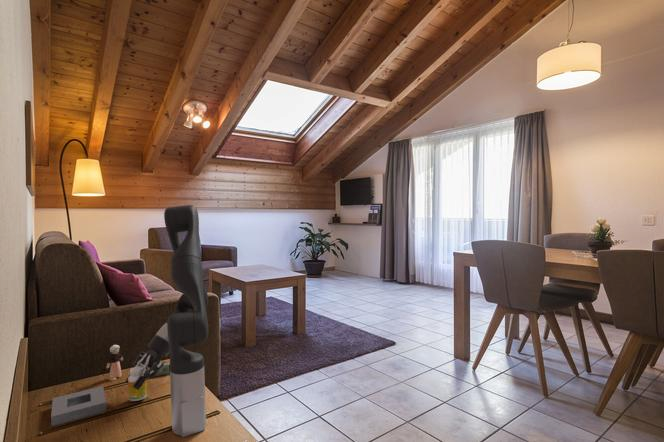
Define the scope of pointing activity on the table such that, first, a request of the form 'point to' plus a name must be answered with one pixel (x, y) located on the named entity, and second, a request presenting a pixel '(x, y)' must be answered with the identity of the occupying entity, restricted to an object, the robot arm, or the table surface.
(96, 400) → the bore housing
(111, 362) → the grandmother figurine
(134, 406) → the table surface
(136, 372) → the supplement bottle
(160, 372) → the medication box
